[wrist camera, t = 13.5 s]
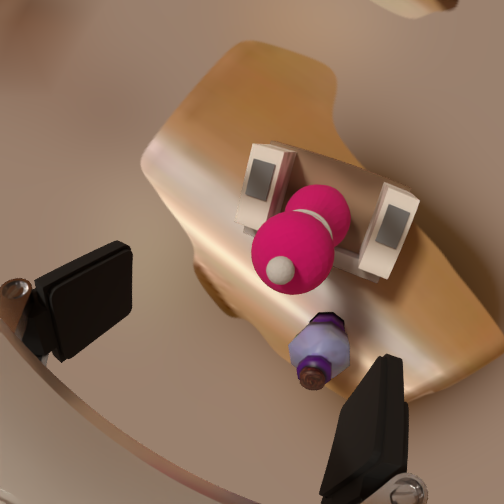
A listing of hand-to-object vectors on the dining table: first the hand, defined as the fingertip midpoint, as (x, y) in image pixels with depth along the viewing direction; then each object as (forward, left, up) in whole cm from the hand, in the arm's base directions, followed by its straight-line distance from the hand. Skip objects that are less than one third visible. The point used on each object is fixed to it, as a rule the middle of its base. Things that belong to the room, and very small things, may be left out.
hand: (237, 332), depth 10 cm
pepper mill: (+2, -1, -28) cm, 28 cm away
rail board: (+1, 0, -30) cm, 30 cm away
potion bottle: (+18, +6, -30) cm, 35 cm away
